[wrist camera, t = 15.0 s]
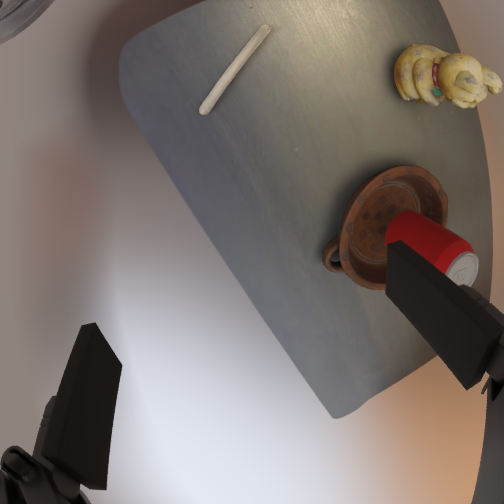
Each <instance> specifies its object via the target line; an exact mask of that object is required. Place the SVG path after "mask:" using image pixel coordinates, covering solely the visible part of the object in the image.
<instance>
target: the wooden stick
mask: <svg viewBox="0 0 504 504" xmlns="http://www.w3.org/2000/svg"><path fill="white" fill-rule="evenodd" d="M270 30H271V29H270V27H269V26H268V25H262V26H261V27H260V28H259V29H258V31H257V32H256V33H255V34H254V35H253V37H252V38H251V39H250V40H249V42H248V43H247V44H246V45H245V46H244V48H243V49H242V50H241V52H240V53H239V54H238V55H237V57H236V58H235V59H234V61H233V62H232V63H231V64H230V66H229V67H228V68H227V70H226V71H225V72H224V74H223V75H222V76H221V78H220V79H219V81H218V82H217V83H216V85H215V86H214V88H213V89H212V90H211V92H210V93H209V95H208V96H207V97H206V99H205V100H204V102H203V103H202V105H201V106H200V108H199V113H200V114H201V115H207V114H208V113H209V112H210V110H211V109H212V107H213V106H214V105H215V103H216V102H217V100H218V99H219V97H220V96H221V95H222V93H223V92H224V90H225V89H226V88H227V86H228V85H229V83H230V82H231V81H232V79H233V78H234V77H235V75H236V74H237V73H238V71H239V70H240V69H241V67H242V66H243V65H244V63H245V62H246V61H247V60H248V58H249V57H250V56H251V54H252V53H253V52H254V51H255V49H256V48H257V47H258V46H259V44H260V43H261V42H262V41H263V40H264V38H265V37H266V36H267V35H268V33H269V32H270Z"/></svg>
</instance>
